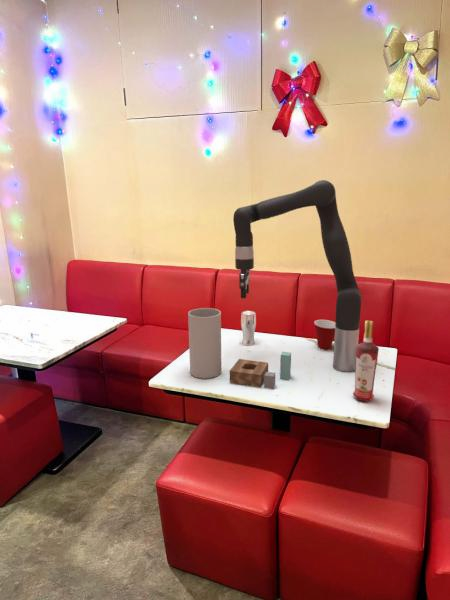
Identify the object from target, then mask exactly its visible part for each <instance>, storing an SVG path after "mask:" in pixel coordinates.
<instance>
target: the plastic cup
mask: <svg viewBox="0 0 450 600" xmlns="http://www.w3.org/2000/svg"><path fill="white" fill-rule="evenodd" d="M313 322H314V328H315V334H316V341H317V348H318V349H319V348H320V350H322V349H324V350H325V351H327V350H328V349H329V350H331V349H332V346H333V343H334V339H335V321H333V320H328V319H317V320H314V321H313ZM329 350H328V351H329Z"/></svg>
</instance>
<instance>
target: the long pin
mask: <svg viewBox="0 0 450 600" xmlns="http://www.w3.org/2000/svg"><path fill="white" fill-rule="evenodd" d="M279 365H280V366H279V368H280V369H279V371H280V372H279V380H284V381H285V380H286V381H290V378H291V368H292V367H291V365H292V352H290V351H281V353H280V364H279Z"/></svg>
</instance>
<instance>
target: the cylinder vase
mask: <svg viewBox="0 0 450 600" xmlns="http://www.w3.org/2000/svg"><path fill="white" fill-rule="evenodd" d="M187 315H188V316H187V317H188V318H187V319H188V346H189V347H188V350H189V373H190V374H191V376H193V377H195V378H197V379H204V380H206V379H212V378H217V377H218V376H219V375H221V373H222V312H221V310H219V309H216V308H213V307H211V308H210V307H203V308H202V307H200V308H195V309H191V310H189V311H188V314H187Z"/></svg>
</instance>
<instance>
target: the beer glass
mask: <svg viewBox="0 0 450 600" xmlns="http://www.w3.org/2000/svg"><path fill="white" fill-rule="evenodd" d="M240 317H241V318H240V326H241V333H242V341H241V344H242V345H244V346H253V345H255V343H256V340H255V331H256V327H257V313H256V312H255V311H254V310H244V311H241V315H240Z"/></svg>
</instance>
